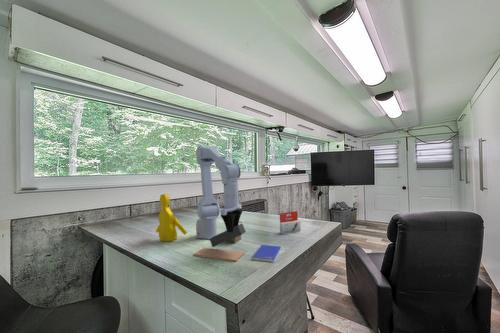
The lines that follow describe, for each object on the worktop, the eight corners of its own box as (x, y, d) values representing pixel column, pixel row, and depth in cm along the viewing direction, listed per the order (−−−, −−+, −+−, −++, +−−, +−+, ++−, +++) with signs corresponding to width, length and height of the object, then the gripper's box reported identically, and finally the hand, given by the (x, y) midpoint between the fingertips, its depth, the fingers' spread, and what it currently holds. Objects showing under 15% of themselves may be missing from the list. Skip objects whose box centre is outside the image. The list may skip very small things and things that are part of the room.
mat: (193, 255, 81) (193, 253, 81) (203, 249, 88) (203, 247, 88) (236, 261, 74) (236, 259, 74) (244, 254, 81) (244, 252, 81)
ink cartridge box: (301, 231, 108) (300, 211, 109) (282, 234, 104) (281, 214, 104) (297, 229, 111) (297, 210, 111) (279, 233, 106) (279, 213, 106)
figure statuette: (189, 238, 102) (188, 192, 102) (179, 244, 94) (178, 194, 95) (159, 236, 107) (157, 192, 108) (147, 241, 100) (146, 194, 100)
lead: (212, 247, 84) (209, 238, 85) (217, 243, 88) (214, 235, 89) (241, 234, 80) (237, 225, 81) (245, 231, 84) (242, 223, 84)
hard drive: (274, 258, 73) (280, 246, 85) (251, 256, 76) (261, 244, 87) (274, 263, 73) (281, 250, 85) (251, 260, 76) (261, 248, 87)
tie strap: (226, 233, 94) (225, 226, 94) (238, 225, 106) (238, 220, 106) (232, 233, 93) (231, 227, 93) (244, 226, 105) (243, 220, 105)
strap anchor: (225, 242, 95) (225, 233, 95) (231, 237, 101) (231, 229, 101) (235, 243, 93) (235, 233, 93) (241, 238, 99) (240, 230, 99)
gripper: (232, 197, 76) (233, 236, 75) (247, 193, 89) (248, 225, 89) (214, 197, 78) (216, 234, 78) (232, 193, 92) (233, 224, 91)
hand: (232, 230), depth 84 cm, fingers closed on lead, 4 cm apart
